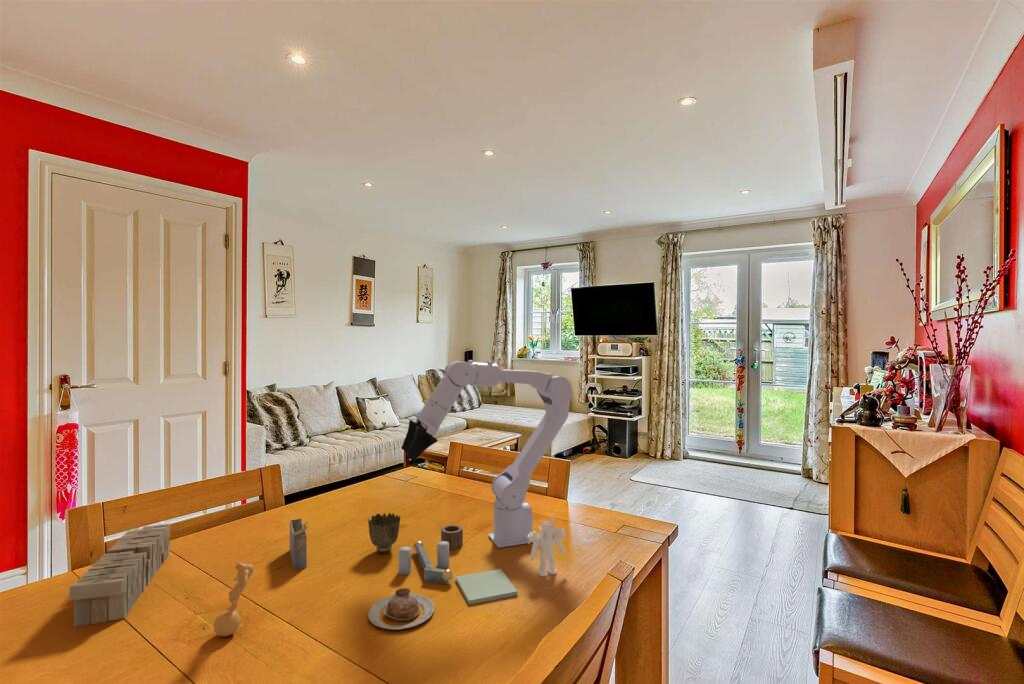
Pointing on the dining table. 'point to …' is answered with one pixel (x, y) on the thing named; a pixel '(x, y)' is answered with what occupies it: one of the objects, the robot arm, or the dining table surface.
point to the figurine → (233, 603)
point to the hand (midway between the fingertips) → (407, 454)
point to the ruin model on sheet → (298, 543)
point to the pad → (485, 586)
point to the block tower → (120, 576)
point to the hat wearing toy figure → (546, 545)
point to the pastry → (401, 609)
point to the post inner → (443, 554)
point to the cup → (384, 531)
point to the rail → (431, 567)
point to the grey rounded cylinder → (404, 560)
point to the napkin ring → (452, 536)
